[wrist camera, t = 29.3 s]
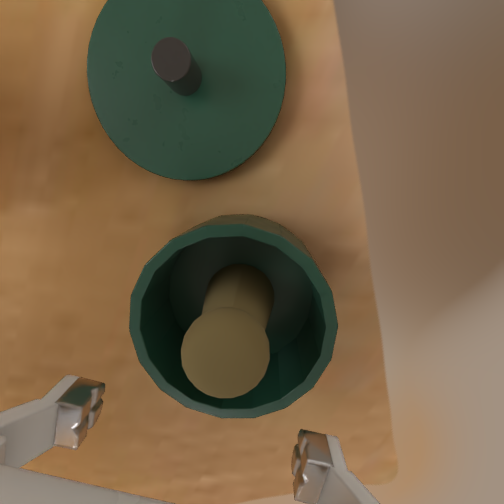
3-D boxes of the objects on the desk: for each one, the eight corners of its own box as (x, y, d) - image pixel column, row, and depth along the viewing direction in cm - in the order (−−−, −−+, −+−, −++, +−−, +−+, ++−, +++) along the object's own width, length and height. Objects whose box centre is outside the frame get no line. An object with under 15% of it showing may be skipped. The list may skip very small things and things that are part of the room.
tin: (185, 376, 30) (161, 432, 24) (143, 232, 28) (102, 248, 21) (332, 351, 29) (352, 403, 22) (303, 197, 26) (315, 201, 19)
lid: (126, 197, 27) (97, 200, 22) (69, 2, 24) (22, -41, 20) (301, 157, 26) (308, 152, 21) (262, -56, 23) (261, -117, 18)
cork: (257, 339, 29) (250, 433, 18) (195, 312, 28) (150, 391, 18) (286, 281, 27) (297, 344, 17) (221, 252, 27) (190, 297, 16)
